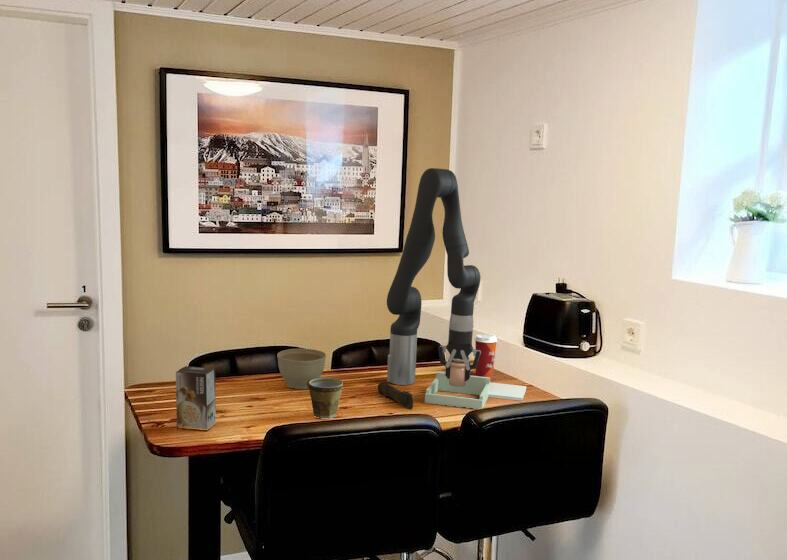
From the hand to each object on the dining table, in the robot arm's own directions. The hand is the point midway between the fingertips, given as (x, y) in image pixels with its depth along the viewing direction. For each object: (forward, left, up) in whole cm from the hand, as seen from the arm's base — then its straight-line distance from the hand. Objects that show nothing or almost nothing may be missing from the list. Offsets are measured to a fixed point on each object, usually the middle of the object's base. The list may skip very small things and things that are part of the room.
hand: (457, 379), depth 220 cm
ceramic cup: (-35, -30, -7) cm, 46 cm away
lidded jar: (0, 0, -2) cm, 2 cm away
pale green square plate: (+13, +13, -7) cm, 20 cm away
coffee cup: (+4, +30, -7) cm, 31 cm away
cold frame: (0, 0, -7) cm, 7 cm away
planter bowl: (-52, -6, -7) cm, 52 cm away
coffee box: (-63, -52, -7) cm, 82 cm away
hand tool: (-17, -9, -7) cm, 20 cm away
